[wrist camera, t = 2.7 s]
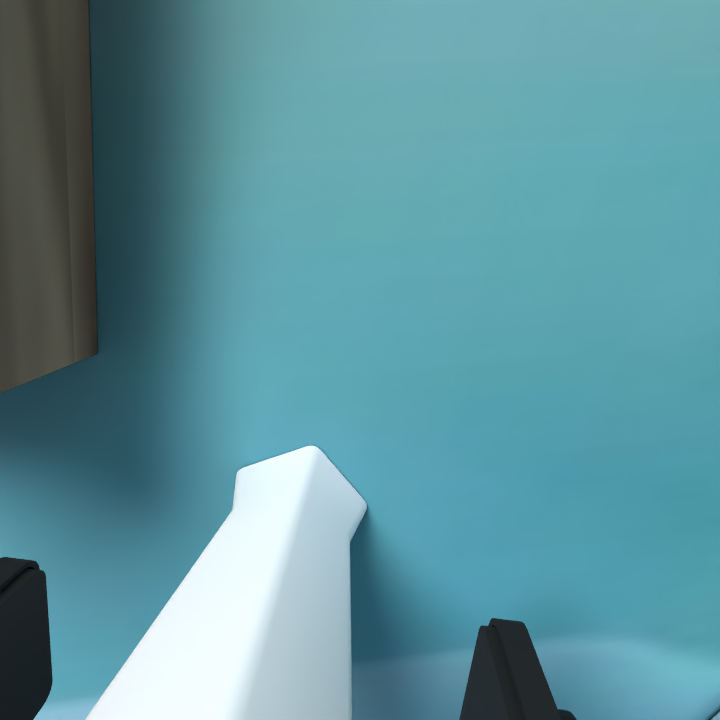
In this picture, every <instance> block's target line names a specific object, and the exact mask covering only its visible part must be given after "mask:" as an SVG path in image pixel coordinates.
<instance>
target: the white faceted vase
mask: <svg viewBox="0 0 720 720" xmlns="http://www.w3.org/2000/svg"><path fill="white" fill-rule="evenodd" d="M366 510H367V504H366V502H365V501H364V499H363V498H362V497H361V496H360V495H359V494H358V493H357V491H356V490H355V489H354V488H353V487H352V486H351V484H350V483H349V482H348V481H347V480H346V479H345V478H344V476H343V475H342V474H341V473H340V472H339V471H338V469H337V468H336V467H335V466H334V465H333V464H332V463H331V461H330V460H329V459H328V458H327V457H326V456H325V454H324V453H323V452H322V451H321V450H320V449H319V448H317V447H315V446H307V447H304V448H301V449H298V450H295V451H292V452H289V453H286V454H283V455H280V456H277V457H274V458H270V459H267V460H264V461H261V462H258V463H255V464H252V465H249V466H246V467H243V468H242V469H240V470H239V471H238V472H237V475H236V484H235V492H234V501H233V510H232V512H231V513H230V514H229V516H228V517H227V519H226V520H225V522H224V523H223V524H222V526H221V527H220V529H219V530H218V532H217V533H216V534H215V536H214V537H213V539H212V540H211V541H210V543H209V544H208V546H207V547H206V549H205V550H204V551H203V553H202V554H201V556H200V557H199V559H198V560H197V561H196V563H195V564H194V566H193V567H192V568H191V570H190V571H189V573H188V574H187V576H186V577H185V578H184V580H183V581H182V583H181V584H180V586H179V587H178V588H177V590H176V591H175V593H174V594H173V595H172V597H171V598H170V600H169V601H168V603H167V604H166V605H165V607H164V608H163V610H162V611H161V613H160V614H159V615H158V617H157V618H156V620H155V621H154V623H153V624H152V625H151V627H150V628H149V630H148V631H147V632H146V634H145V635H144V637H143V638H142V640H141V641H140V642H139V644H138V645H137V647H136V648H135V650H134V651H133V652H132V654H131V655H130V657H129V658H128V659H127V661H126V662H125V664H124V665H123V667H122V668H121V669H120V671H119V672H118V674H117V675H116V677H115V678H114V679H113V681H112V682H111V684H110V685H109V687H108V688H107V689H106V691H105V692H104V694H103V695H102V696H101V698H100V699H99V701H98V702H97V704H96V705H95V706H94V708H93V709H92V711H91V712H90V714H89V715H88V716H87V718H86V719H85V720H352V662H351V592H350V541H351V539H352V537H353V535H354V533H355V531H356V529H357V527H358V525H359V523H360V521H361V520H362V518H363V516H364V514H365V512H366Z"/></svg>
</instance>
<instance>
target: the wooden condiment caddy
mask: <svg viewBox="0 0 720 720" xmlns="http://www.w3.org/2000/svg"><path fill="white" fill-rule="evenodd" d="M96 354H98V344H97V306H96V268H95V230H94V192H93V154H92V115H91V77H90V39H89V1H88V0H0V393H2V392H4V391H7V390H9V389H12V388H14V387H17V386H19V385H22V384H24V383H27V382H29V381H32V380H34V379H36V378H39V377H41V376H44V375H46V374H49V373H51V372H54V371H56V370H59V369H61V368H64V367H66V366H68V365H71V364H73V363H76V362H78V361H81V360H83V359H86V358H88V357H91V356H93V355H96Z"/></svg>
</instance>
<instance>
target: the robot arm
mask: <svg viewBox="0 0 720 720" xmlns="http://www.w3.org/2000/svg"><path fill="white" fill-rule="evenodd" d="M51 686H52V666H51V650H50V635H49V619H48V603H47V587H46V575H45V572H44V571H42V570H40V569H39V565H38V563H37V562H36V561H32V560H24V559H16V558H8V557H3V558H0V720H33V719H34V718H35V716H36V715H37V713H38V712H39V711H40V709H41V708H42V706H43V705H44V703H45V702H46V700H47V698H48V696H49V693H50V690H51ZM460 720H576V718H575V717H574V715H573V714H572V713H571V712H569V711H566V710H559V709H557V707H556V704H555V702H554V699H553V696H552V694H551V691H550V688H549V686H548V683H547V681H546V678H545V675H544V673H543V670H542V667H541V665H540V662H539V659H538V657H537V654H536V652H535V649H534V646H533V644H532V641H531V638H530V636H529V633H528V630H527V628H526V626H525V624H524V623H523V622H519V621H511V620H503V619H495V618H492V619H491V620H490V623H489V626H481V627H480V629H479V632H478V637H477V641H476V646H475V650H474V655H473V660H472V664H471V669H470V673H469V678H468V683H467V687H466V692H465V697H464V701H463V706H462V710H461V715H460ZM711 720H720V711H719V712H718V713H717V714H716V715H715V716H714V717H713V718H712V719H711Z"/></svg>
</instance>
